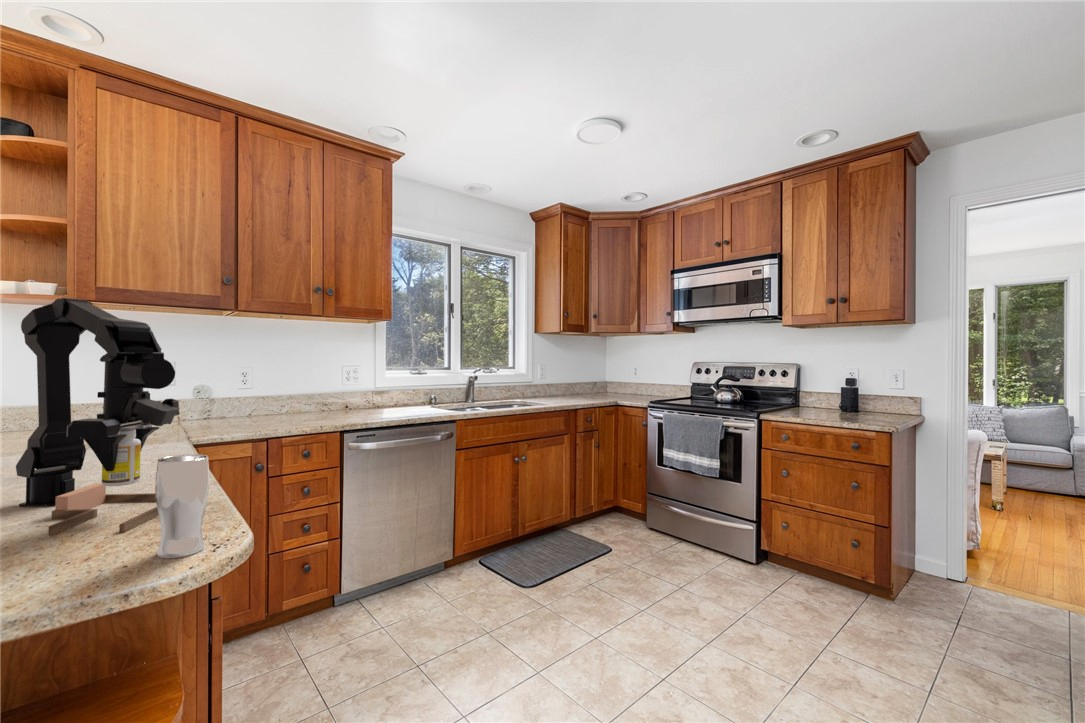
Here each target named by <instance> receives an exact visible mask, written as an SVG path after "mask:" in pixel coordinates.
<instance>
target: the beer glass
mask: <svg viewBox="0 0 1085 723" xmlns="http://www.w3.org/2000/svg"><path fill="white" fill-rule="evenodd" d="M154 483H155V484H154V493H155V497H156V501H155V503H156V507H157V510H158V519H159V525H160V539H159V544H158V548H157V552H156V554H157V555H156V556H157V557H158V558H160V559H166V560H167V559H170V560H171V559H179V558H185V557H189V556H192V555H195V554H197V553H200V552H201V551H202V550H204V549H205V543H204V542H205V541H204V538H203V530H202V529H203V528H202V527H203V526H202V525H203V519H204V515H205V514H204V513H205V511H206V510H205V509H206V505H207V501H208V495H209V490H210V466H209V455H207V454H199V453H197V454H195V453H193V454H191V453H190V454H179V455H178V454H177V455H171V456H165V457H161V458H158V459H157V467H156V474H155V482H154Z"/></svg>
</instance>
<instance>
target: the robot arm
mask: <svg viewBox="0 0 1085 723" xmlns="http://www.w3.org/2000/svg"><path fill="white" fill-rule="evenodd" d="M20 329H21V332H22V334H23V336H24V338H23V339H24V343H25V345H26V346H27V347H28V348H29V350H31V351H32V353H33V354H34V355H35V356H36V371H37V372H36V373H37V375H36V376H37V378H36V379H37V404H38V405H37V407H38V410H37V411H38V414H37V416H38V426H37V427H36V429H35V430H34V431H33V432H32V434H31V435H30V436H29V438H28V439H27V447H26V449H25V451H24V452H23V454H22V455H21V457H20V458H19V460H18V462H17V463H16V465H15V470H16V476H18V477H22V478H25V480H26V484H25V501H23V502H21V503H18V507H45V506H46V507H51V506H52V507H53V506H55V505H56V497H57V496H60V495H63V494H66V493H69V492H72V491H75V490H76V488H75V486H76V484H75V483H76V482H75V480H76V478H75V477H74V475H73V474H74V471H81V470H82V469H83V466H84V461H85V457H86V453H87V448H86V445H85V443H86V444H87V445H88V446H89V448H90V449H91V450H92V451H93V453H94V455H95V456H96V458H97V459H98V461H99V462H100V463H101V466H102V465H103V467H104V469H105V470H106V471H114V468H115V464H116V457H117V451H118V444H119V442H120V441H121V440H122V439H124V438H125V437H126V436H127V434H120V429H135V430H136V437H135V439H139V440H140V441H141V451H142V450H143V447H144V445H145V442H146V440H147V439H148V437H149V436H150V435H151V434H154V432H155V431H158V430H159V429H160V427H162V426H164V425H171V424H172V423H173V420H174V418H175V417H177V416H179V415H180V414H181V413H180V406H179V404H180V403H179V400H177V399H175V398H166V399H164V400H163V401H161V400H157V401H156V400H153V399H151V393H150V391H148V390H144V389H154V390H161V389H164V388H167V387H168V386H170V385H172V383H173V381H174V379H175V377H176V370H175V367H174V366H173V364H172V363H171V362H170V361H168V360H167V359H165V353H164V352H162V350H163V349H162V347H161V346H160V344H159V343H158V341H157V339H156V336H155V334H154V332H153V330H151V327H150V326H149V324H148V323H146V322H142V321H139V320H138V321H137V320H133V319H131V320H129V319H124V318H119V317H117V316H115V315H113V314H111V313H109V312H108V311H105V310H103V309H102V308H100V307H98V306H96V305H94V304H93V303H92V302H91V301H88V299H87V300H86V299H78V298H71V297H69V298H67V297H61V298H57V299H55V300H54V301H53V302H52V303H49V304H46V305H42V306H40V307H36V308H34V309H32V310H31V311H30V312H28V313H27V315H26V316H24V317H23V319H22V320H21V323H20ZM85 331H88V332H90V333H91V334H94V335H95V336H94V343H96V344H98V345H99V346H100V347H101V348H102V349H103V350H104V351H105V352H106V353H105V354H103V355H101V357H100V358H99V361H100V362H101V363H104V376H103V377H104V381H103V382H104V384H103V391H97V398H101V399H103V405H102V406H103V411H102V413H97V414H96V418H81V419H74V420H72V402H71V377H70V376H71V371H70V370H71V369H70V367H71V366H70V355H71V354H72V352H74V351H75V349H76V347H77V346H78V345H79V344H80V339H81V338H80V336H81V335H82V334H84V332H85Z"/></svg>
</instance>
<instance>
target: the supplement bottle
mask: <svg viewBox="0 0 1085 723" xmlns="http://www.w3.org/2000/svg"><path fill="white" fill-rule="evenodd" d="M120 434H127V436H126V437H125V438H124V439H122V440H121V441H120V442H119V444H118V451H117V457H116V464H115V468H114V471H106V470H105V469H104V467H103V465H102V464H101V484H103V485H105V486H106V487H122V486H129V485H133V484H135V483H138V482H139V481H140V479H141V452H142V450H141V441H140V440H139V439H135V437H136V430H135V429H120Z"/></svg>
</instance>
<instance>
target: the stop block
mask: <svg viewBox="0 0 1085 723" xmlns="http://www.w3.org/2000/svg"><path fill="white" fill-rule="evenodd" d="M106 488H107V486H105V485H103V484H102V483H93V484H90V485H87V486H84V487H81V488H78V489H74V491H72V492H69V493H66V494H63V495H60V496H57V497H56V505H54V506H55V508H54V510H71V509H93V508H95V507H97V506H100V505H102V504H105V503H106V502H105V498H106V494H107V493H106V492H107V490H106Z"/></svg>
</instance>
